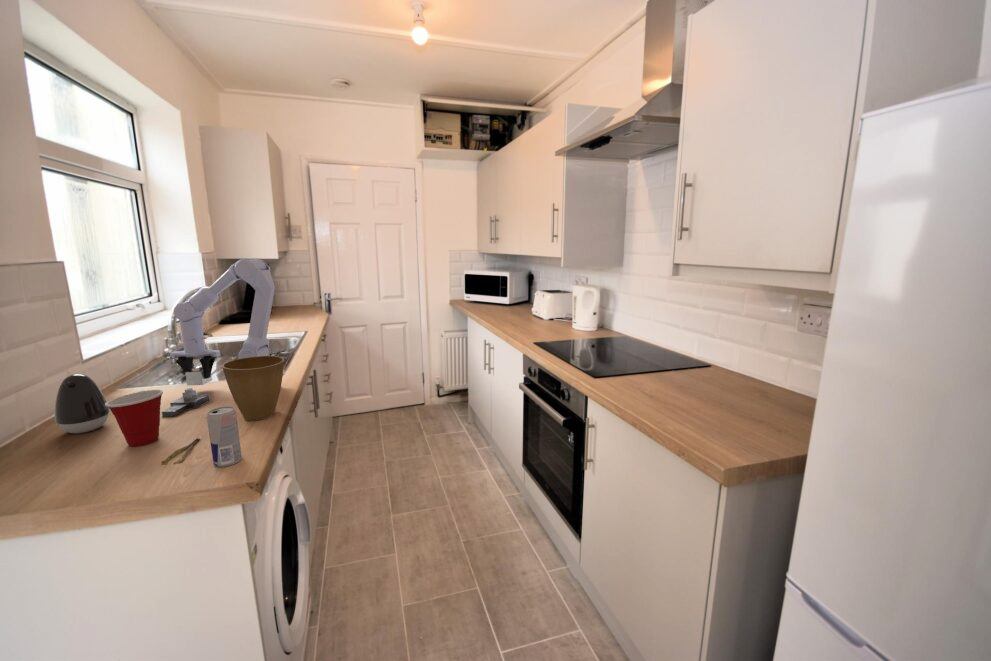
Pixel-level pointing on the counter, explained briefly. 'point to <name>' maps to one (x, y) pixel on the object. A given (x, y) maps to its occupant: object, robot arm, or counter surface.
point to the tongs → (180, 452)
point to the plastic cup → (138, 416)
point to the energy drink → (224, 436)
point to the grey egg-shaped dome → (80, 405)
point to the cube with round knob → (196, 376)
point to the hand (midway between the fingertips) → (199, 378)
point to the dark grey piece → (185, 403)
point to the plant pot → (255, 384)
